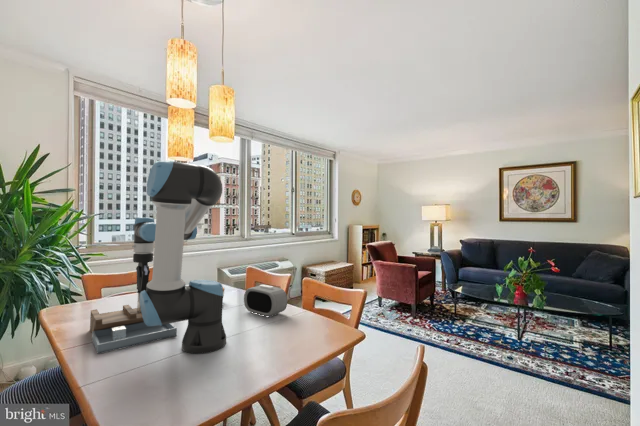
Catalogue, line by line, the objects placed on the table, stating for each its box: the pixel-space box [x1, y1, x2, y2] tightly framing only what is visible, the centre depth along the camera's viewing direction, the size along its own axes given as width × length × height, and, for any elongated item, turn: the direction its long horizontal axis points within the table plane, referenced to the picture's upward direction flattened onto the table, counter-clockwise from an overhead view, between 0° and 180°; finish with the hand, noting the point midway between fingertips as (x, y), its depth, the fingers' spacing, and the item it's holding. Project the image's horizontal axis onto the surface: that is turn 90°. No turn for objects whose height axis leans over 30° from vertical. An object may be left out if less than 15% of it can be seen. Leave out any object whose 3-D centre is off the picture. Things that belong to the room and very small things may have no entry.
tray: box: [91, 322, 178, 354], centre depth 115 cm, size 16×25×3 cm, turn 133°
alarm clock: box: [243, 284, 288, 317], centre depth 149 cm, size 21×10×13 cm, turn 56°
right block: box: [136, 300, 141, 313], centre depth 129 cm, size 4×4×4 cm
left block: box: [111, 326, 126, 341], centre depth 112 cm, size 4×4×4 cm
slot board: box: [89, 304, 144, 335], centre depth 124 cm, size 15×24×8 cm, turn 133°
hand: (141, 306), depth 131 cm, fingers closed
